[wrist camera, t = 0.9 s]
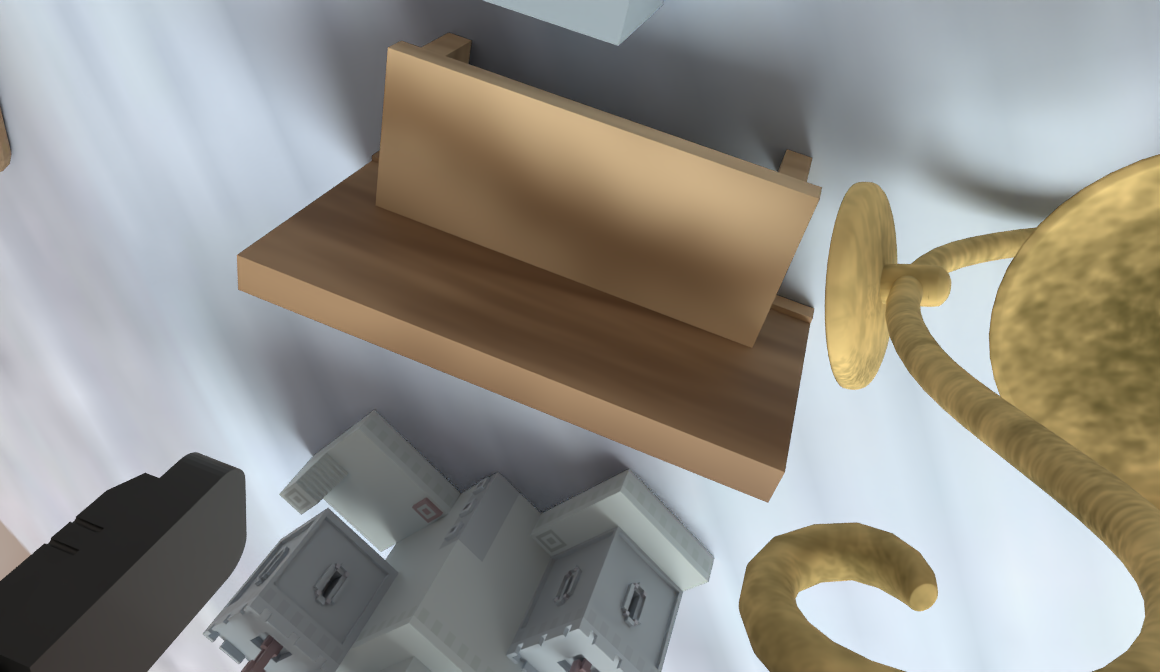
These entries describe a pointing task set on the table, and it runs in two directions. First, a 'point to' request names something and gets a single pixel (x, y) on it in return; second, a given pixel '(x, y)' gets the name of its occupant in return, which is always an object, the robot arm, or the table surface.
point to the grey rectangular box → (589, 15)
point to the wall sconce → (997, 396)
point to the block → (4, 146)
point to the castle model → (459, 573)
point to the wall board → (563, 265)
